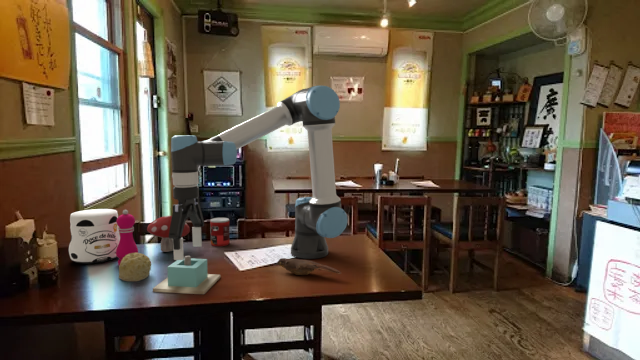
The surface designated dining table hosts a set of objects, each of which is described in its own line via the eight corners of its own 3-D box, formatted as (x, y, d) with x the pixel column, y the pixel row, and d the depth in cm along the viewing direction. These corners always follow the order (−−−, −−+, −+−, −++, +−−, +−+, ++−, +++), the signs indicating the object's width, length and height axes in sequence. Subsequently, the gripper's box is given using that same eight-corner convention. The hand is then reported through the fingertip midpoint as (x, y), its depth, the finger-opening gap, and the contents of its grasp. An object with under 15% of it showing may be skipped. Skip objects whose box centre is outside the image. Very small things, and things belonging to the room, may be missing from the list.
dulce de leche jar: (100, 269, 138) (98, 218, 136) (57, 265, 141) (54, 216, 139) (132, 254, 155) (130, 209, 153) (93, 251, 158) (91, 207, 156)
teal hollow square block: (207, 276, 129) (207, 259, 128) (196, 287, 120) (195, 268, 119) (181, 275, 130) (180, 257, 129) (167, 285, 121) (167, 266, 120)
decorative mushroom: (193, 246, 167) (192, 211, 166) (186, 257, 152) (185, 219, 150) (154, 247, 165) (153, 211, 164) (142, 258, 150) (141, 219, 148)
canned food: (209, 242, 173) (209, 218, 172) (227, 241, 176) (227, 217, 175) (212, 247, 166) (211, 221, 165) (231, 245, 169) (230, 220, 168)
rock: (148, 281, 137) (139, 254, 139) (159, 272, 129) (149, 244, 131) (119, 291, 130) (110, 262, 132) (129, 282, 122) (119, 252, 124)
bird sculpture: (338, 283, 127) (339, 268, 127) (268, 274, 135) (268, 259, 135) (344, 276, 133) (344, 262, 133) (276, 268, 141) (276, 254, 141)
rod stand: (220, 277, 131) (220, 251, 130) (204, 294, 117) (203, 265, 116) (174, 275, 132) (173, 249, 131) (152, 291, 119) (151, 262, 118)
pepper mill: (142, 261, 147) (140, 208, 144) (131, 267, 140) (129, 212, 137) (124, 260, 147) (121, 207, 145) (112, 266, 140) (109, 211, 138)
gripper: (191, 180, 134) (193, 241, 137) (153, 191, 109) (157, 265, 112) (212, 180, 133) (214, 242, 136) (179, 191, 109) (182, 266, 111)
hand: (188, 252), depth 124 cm, fingers open, 13 cm apart
